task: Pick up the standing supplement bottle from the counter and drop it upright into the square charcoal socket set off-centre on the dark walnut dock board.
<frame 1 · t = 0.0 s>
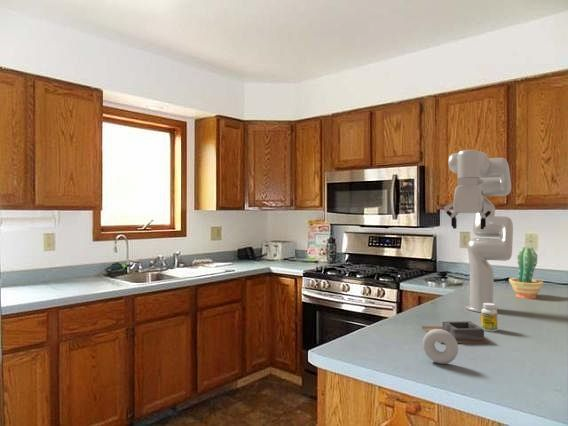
hand: (468, 228, 157), 37 cm above the worktop, tool pointing down, fingers open, 9 cm apart
donut: (440, 363, 122), on the worktop
supplement bottle: (489, 330, 155), on the worktop
potted cactus: (525, 296, 211), on the worktop
dock: (453, 335, 149), on the worktop
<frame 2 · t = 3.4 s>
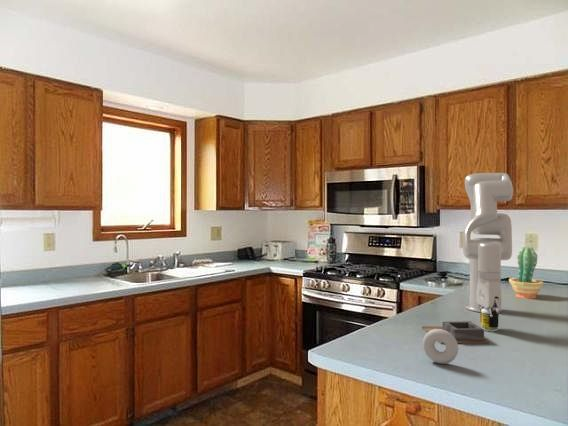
hand: (489, 324, 155), 2 cm above the worktop, tool pointing down, fingers closed on supplement bottle, 5 cm apart
supplement bottle: (489, 330, 155), on the worktop, touching gripper
everything else where it was.
when the fingers open (5 cm above the worktop, at t = 9.2 s): supplement bottle drops 2 cm, resting on dock.
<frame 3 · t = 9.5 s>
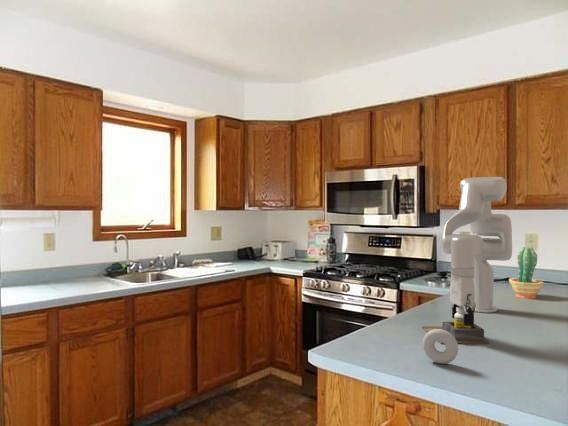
hand: (462, 321, 146), 6 cm above the worktop, tool pointing down, fingers open, 8 cm apart
supplement bottle: (462, 335, 146), point 1 cm above the worktop, touching dock
everything else where it was.
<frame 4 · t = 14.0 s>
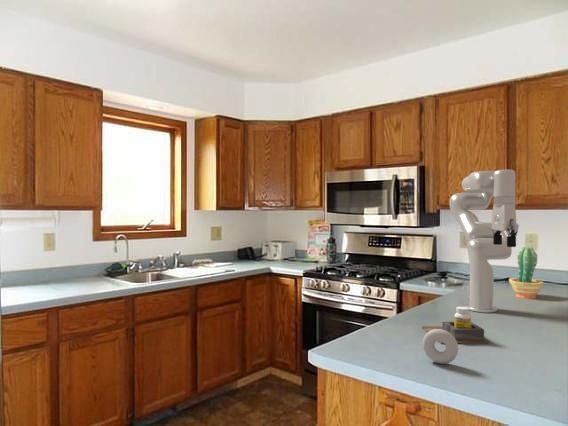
hand: (504, 245, 163), 30 cm above the worktop, tool pointing down, fingers open, 9 cm apart
nothing on the worktop moved.
at the end: supplement bottle 0.2 cm from the target spot on the dock, point 0.6 cm above the dock's base; supplement bottle tilted 0°; the gripper is holding nothing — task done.
